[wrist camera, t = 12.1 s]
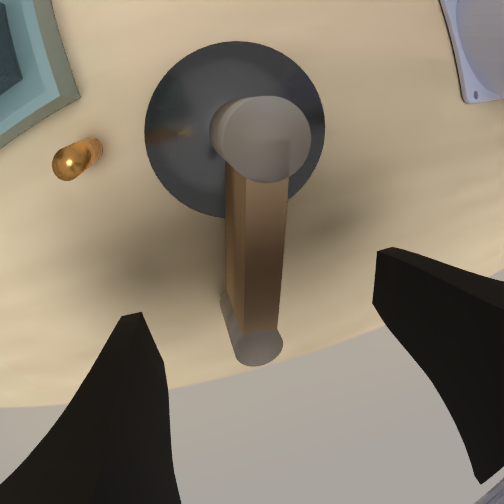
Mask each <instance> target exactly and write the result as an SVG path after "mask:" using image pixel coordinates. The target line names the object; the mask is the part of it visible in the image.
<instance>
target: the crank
mask: <svg viewBox="0 0 504 504" xmlns="http://www.w3.org/2000/svg"><path fill="white" fill-rule="evenodd" d="M209 137H210V141H211V144H212V146H213V148H214V149H215V151H216V152H217V153H218V154H219V155H220V156H221V157H222V158H223V159H224V160H225V161H226V164H225V226H226V290H225V291H224V292H223V294H222V296H221V298H220V307H221V310H222V313H223V317H224V320H225V323H226V327H227V330H228V333H229V336H230V340H231V343H232V346H233V349H234V352H235V356H236V358H237V360H238V361H239V362H240V363H242V364H244V365H247V366H260V365H264V364H266V363H269V362H270V361H272V360H273V359H275V358H276V357H277V356H278V355H279V353H280V352H281V350H282V347H283V340H282V338H281V336H280V334H279V332H278V330H277V323H278V313H279V302H280V290H281V279H282V267H283V254H284V241H285V228H286V213H287V198H288V183H289V177H290V176H291V175H293V174H294V173H295V172H296V171H298V169H299V168H300V167H301V166H302V165H303V163H304V162H305V160H306V158H307V156H308V153H309V150H310V145H311V131H310V127H309V124H308V121H307V119H306V117H305V115H304V114H303V113H302V111H301V110H300V109H299V108H298V107H297V106H296V105H294V104H293V103H292V102H290V101H288V100H286V99H284V98H281V97H277V96H259V97H250V98H242V99H235V100H232V101H229V102H227V103H225V104H224V105H222V106H221V107H220V108H219V109H218V110H217V111H216V112H215V114H214V115H213V117H212V119H211V122H210V126H209Z"/></svg>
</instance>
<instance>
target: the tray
mask: <svg viewBox="0 0 504 504" xmlns="http://www.w3.org/2000/svg"><path fill="white" fill-rule="evenodd" d="M0 2H1V3H3V4H5V9H6V14H7V19H8V24H9V28H10V32H11V37H12V41H13V45H14V49H15V52H16V56H17V60H18V63H19V67H20V70H21V73H22V76H23V79H22V80H21V81H19V82H18V83H17V84H15V85H14V86H12V87H11V88H10V89H8V90H7V91H6V92H4V93H3V94H2V95H0V149H1V148H2V147H3V146H5V145H6V144H7V143H9V142H10V141H12V140H13V139H14V138H16V137H17V136H19V135H20V134H22V133H23V132H24V131H26V130H27V129H29V128H30V127H32V126H33V125H35V124H37V123H38V122H40V121H41V120H43V119H44V118H46V117H48V116H49V115H51V114H53V113H54V112H56V111H58V110H59V109H61V108H63V107H64V106H66V105H68V104H70V103H71V102H73V101H75V100H77V99H79V98H81V97H80V95H79V92H78V89H77V86H76V83H75V81H74V78H73V75H72V72H71V69H70V66H69V63H68V60H67V57H66V53H65V50H64V47H63V44H62V40H61V37H60V34H59V30H58V27H57V23H56V20H55V16H54V12H53V8H52V5H51V1H50V0H0Z"/></svg>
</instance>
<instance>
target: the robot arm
mask: <svg viewBox="0 0 504 504" xmlns="http://www.w3.org/2000/svg"><path fill="white" fill-rule="evenodd" d="M440 3H441V6H442V9H443V12H444V15H445V19H446V22H447V26H448V29H449V33H450V37H451V41H452V45H453V49H454V53H455V58H456V63H457V68H458V73H459V78H460V84H461V90H462V96H463V99H464V101H465V102H466V103H469V104H475V103H480V102H486V101H492V100H497V99H503V98H504V0H440ZM372 304H373V305H374V307H375V308H376V310H377V312H378V313H379V315H380V317H381V318H382V320H383V321H384V323H385V324H386V326H387V327H388V328H389V330H390V331H391V332H392V333H393V335H394V336H395V337H396V338H397V339H398V341H399V342H400V343H401V344H402V345H403V347H404V348H405V349H406V350H407V351H408V352H409V354H410V355H411V356H412V357H413V359H414V360H415V361H416V362H417V363H418V365H419V366H420V367H421V368H422V369H423V371H424V372H425V373H426V375H427V376H428V377H429V379H430V380H431V381H432V383H433V385H434V386H435V388H436V389H437V391H438V392H439V394H440V396H441V398H442V399H443V401H444V403H445V405H446V407H447V408H448V410H449V412H450V414H451V416H452V418H453V420H454V422H455V424H456V426H457V428H458V430H459V433H460V435H461V437H462V440H463V442H464V444H465V447H466V450H467V453H468V456H469V459H470V461H471V464H472V468H473V472H474V475H475V477H476V478H477V480H478V481H479V483H480V484H482V483H484V482H485V481H487V480H488V479H489V478H490V477H492V476H493V475H494V474H495V473H496V472H498V471H499V470H500V469H501V468H502V467H503V466H504V282H503V281H499V280H495V279H491V278H488V277H484V276H481V275H478V274H475V273H472V272H468V271H465V270H462V269H459V268H457V267H454V266H451V265H448V264H445V263H442V262H439V261H437V260H434V259H431V258H428V257H425V256H422V255H419V254H416V253H413V252H410V251H406V250H403V249H399V248H395V247H390V248H387V249H384V250H380V251H377V259H376V271H375V282H374V292H373V301H372ZM170 435H171V434H170V417H169V397H168V387H167V380H166V374H165V367H164V362H163V359H162V357H161V355H160V353H159V351H158V349H157V346H156V344H155V342H154V340H153V337H152V335H151V333H150V331H149V328H148V326H147V324H146V321H145V319H144V317H143V314H142V312H139V313H134V314H130V315H125V316H122V317H121V318H120V320H119V321H118V323H117V325H116V326H115V328H114V330H113V332H112V333H111V335H110V337H109V339H108V340H107V342H106V344H105V346H104V347H103V349H102V351H101V353H100V354H99V356H98V358H97V359H96V361H95V363H94V365H93V366H92V368H91V370H90V371H89V373H88V375H87V376H86V378H85V379H84V381H83V383H82V384H81V386H80V387H79V389H78V391H77V392H76V394H75V395H74V397H73V399H72V400H71V402H70V403H69V405H68V406H67V407H66V409H65V410H64V412H63V413H62V415H61V416H60V417H59V419H58V420H57V421H56V423H55V424H54V426H53V427H52V428H51V429H50V431H49V432H48V433H47V435H46V436H45V437H44V438H43V439H42V440H41V442H40V443H39V444H38V445H37V446H36V448H35V449H34V450H33V451H32V452H31V453H30V455H29V456H28V457H27V458H26V459H25V460H24V461H23V462H22V464H21V465H20V466H19V467H18V468H17V469H16V470H15V471H14V472H13V473H12V474H11V475H10V476H9V477H8V478H7V479H6V480H5V481H4V482H2V483H1V484H0V504H181V500H180V496H179V492H178V487H177V483H176V479H175V474H174V468H173V461H172V450H171V436H170ZM474 504H504V478H503V479H502V480H501V481H500V482H499V483H498V484H496V485H495V486H494V487H493V488H492V489H491V490H490V491H488V492H487V493H486V494H485V495H484V496H483V497H481V498H480V499H479V500H478V501H477V502H475V503H474Z"/></svg>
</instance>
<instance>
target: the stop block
mask: <svg viewBox="0 0 504 504" xmlns="http://www.w3.org/2000/svg"><path fill="white" fill-rule="evenodd" d="M22 79H23V76H22V73H21V70H20V67H19V63H18V60H17V56H16V52H15V49H14V45H13V41H12V37H11V32H10V28H9V24H8V19H7V14H6V9H5V4H3V3H1V2H0V95H2V94H3V93H4V92H6V91H7V90H8V89H10V88H11V87H12V86H14V85H15V84H17V83H18V82H19V81H21V80H22Z"/></svg>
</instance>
